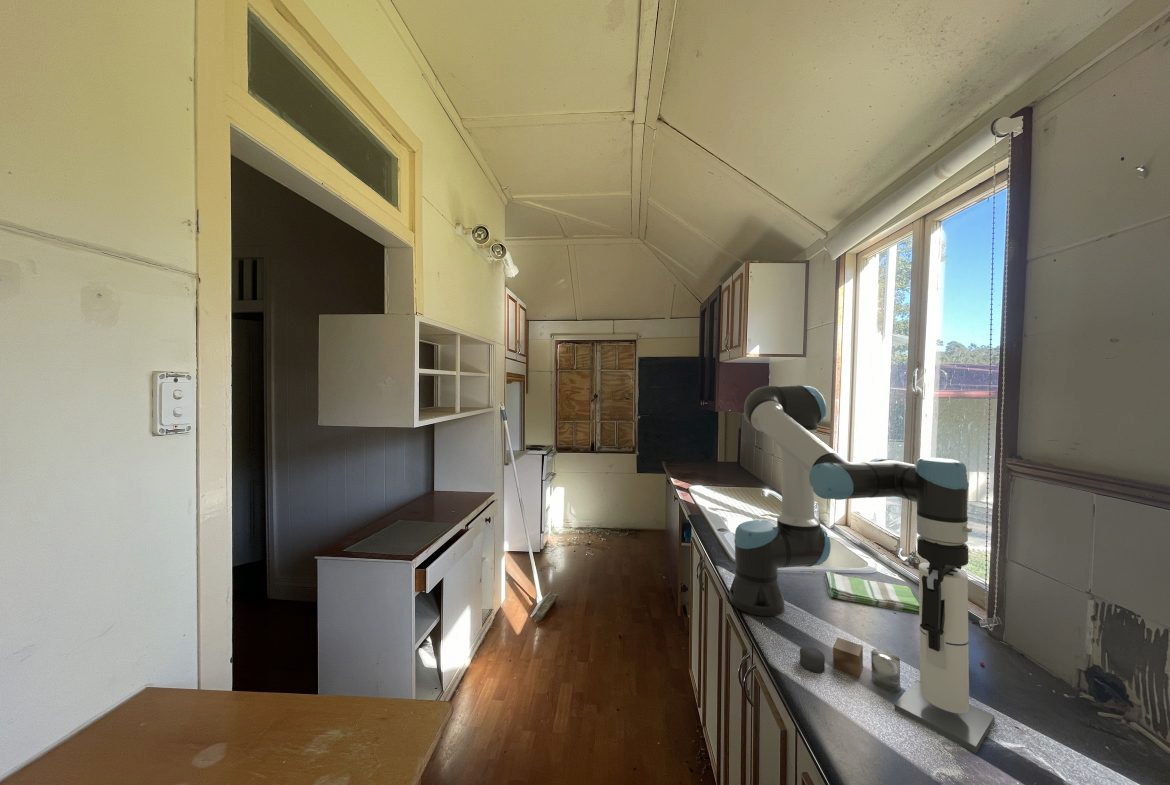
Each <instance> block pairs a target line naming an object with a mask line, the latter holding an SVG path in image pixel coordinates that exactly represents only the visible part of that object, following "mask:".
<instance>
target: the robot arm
mask: <svg viewBox="0 0 1170 785" xmlns="http://www.w3.org/2000/svg"><path fill="white" fill-rule="evenodd" d="M743 405H744V406H743V412H744V416H745V418H746V421H747V422H748V424H750V426H752V427H753V428H754V429H756V431H759V432H761V433H763V432H764V433H765V435H767V436H768V437H769V438H770V439H771V440H772V441H773V442H775V443H776V445H778V446H779V447H780V471H781V472H780V474H781V478H780V480H781V504H782V505H781V507H782V508H781V509H782V510H781V514H780V515H778V516H777V518H776V523H777V525H776V524H774V522H771V521H767V520H758V519H757V520H748V521H745V522H741V523H740V524H738V526H737V527H736V529H735V534H734V541H733V542H734V557H735V558H734V563H735V564H734V566H735V575H734V576H733V580H732V583H731V586H730V589H729V601H730V602H729V603H731V605H732V606H734V607H735V608H736V609H738V610H740V611H742V612H745V613H747V614H750V615H754V616H759V617H760V616H761V617H774V616H777V615H780V614H782V613H783V612H784V611H785V598H784V595H783V593H782V589H781V586H780V583H779V581H778V580H779V579H778V577H779V576H778V573H779V572H778V569H784V568H800V567H808V568H811V567H813V566H819V565H822V564H824V563H825V562H826V561H828V559H829V557H830V554H831V539H830V537H829V536H828V532H827V530H826V529H825V528H824V527H823V526H822V525H821V521H820V520H819V519H818V518H817V517H816V516H815V501H814V500H815V495H817V497H819V498H821V499H825V500H835V501H836V500H838V501H839V500H849V499H852V500H853V499H868V498H869V499H870V498H891V497H894V498H895V497H896V498H901V499H904V500H908V501H911V502H914V503H916V533H917V534H918V536H917V537H916V545H917V546H916V549H917V550H916V552H917V555H918V556H919V557H920V558H921V559H924V560H925V561H927V563H928V562H929V567H927V569H929V570H928V574H929V577H927V576H924V575H923V576H922V586H923V597H922V624H920V623H919V628H920V627H921V628H922V629H924V630H926V656H927V662H928V663H930V664H932V665H935V666H937V667H939V668H942V669H944V670H945V669H946V633H944V631H943V630H944V620H945V599H944V600H941V587H942V585H941V582H942V581H943V579H944V576H945V575H947V574H948V575H951V576H953V575H954V574H951V573H949V572H950V571H953V572H958V571H956V570H953V569H954V568H958V569H960V570H962V567H965V566H966V565H967V564H969V545H968V544H967V542H968V541H969V539H968V538H969V535H968V534H969V533H972V531H973V528H972V527H970V526H968V523H969V521H968V520H969V519H968V499H969V496H968V495H969V486H970V485H969V481H968V479H969V478H968V472H967V467H966V464H965V463H964V462H962V461H960V460H957V459H952V458H943V457H927V456H926V457H920V458H918V459H917V461H916V464H913V463H909V462H902V461H898V460H895V459H893V458H892V459H891V458H880V457H879V458H874V459H872V460H870V461H860V462H859V461H858V462H853V461H852V462H850V461H848V460H847V459H845V458H844V457H842V456H841V455H840V454H839V453H837V452H836V451H834V449H832V447H830V446H828V444H826V443H825V442H823V441H822V440H821V439H819V438H818V437H817V436H816V435H814V434H815V433H816V432H817V431H818V424H820V423H821V422H823V421H824V420H825V417H826V415H827V404H826V400H825V398H824V396H823V394H822V393H821V392H820V391H819V390H818V389H817V388H815V387H813V386H810V385H801V384H797V385H765V386H760V387H758V388H755V389H754V390H752V391H751V392H750V393H749V394H748V395H747V397H746V399H745V401H744V404H743ZM814 494H815V495H814Z"/></svg>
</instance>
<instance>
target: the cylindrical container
mask: <svg viewBox="0 0 1170 785" xmlns="http://www.w3.org/2000/svg"><path fill="white" fill-rule="evenodd" d="M927 567H929V562H928V561H927V562H921V563H919V564H918V597H919V598H918V600H919V601H918V602H919V614H918V615H919V625H920V624H922V597H923V586H922V576H923V575H924V576H927V577H929V574H928V570H929V569H927ZM953 570H956V571H958V572H953V571H950V572H949V573H951V574H954V575H953V576H951V575H948V574H947V575H945V576H944V579H943V581H942V582H941V585H942V587H941V600H944V599H945V620H944V630H943V631H944V633H946V669H945V670H944V669H942V668H939V667H937V666H935V665H932V664H930V663H928V662H927V656H926V630H924V629H922V628H921V627H920V626H919V675H920V676H919V681H920V692H921V694H922V696H923V697H924V698H925V699H926V700H927V701H928V702H930V703H931V704H933V705H935V706H936V707H938V708H941V709H943V710H946V711H949V712H953V713H966V712H968V711H969V704H970V675H969V674H970V672H969V671H970V669H969V668H970V665H969V664H970V663H969V657H970V656H969V655H970V654H969V649H970V648H969V590H968V588H969V582H968V581H969V580H968V579H969V577H968V573H967V572H966V571H964V570H962V569H961V570H960V569H958V568H954V569H953Z"/></svg>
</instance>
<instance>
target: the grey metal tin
mask: <svg viewBox="0 0 1170 785" xmlns="http://www.w3.org/2000/svg"><path fill="white" fill-rule="evenodd" d="M870 652H871V653H870V654H871V655H870V658H871V666H870V668H871V673H870V674H871V682H872V683H873V685H874V686H876V688H878V689H880V690H882V691H885V692H888V693H898V692H900V691H901V660H900V657H899V656H898V655H897V654H895V653H893V652H892V651H888V650H886V649H881V648H875V649H872V650H871V651H870Z"/></svg>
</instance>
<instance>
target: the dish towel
mask: <svg viewBox="0 0 1170 785" xmlns="http://www.w3.org/2000/svg"><path fill="white" fill-rule="evenodd" d="M824 573H825V574H824V579H825V582H826V586H827V591H828V592H827V593H828V595H829V598H831V599H832V598H833V599H837V600H838V599H839V600H842V601H847V602H852V603H858V604H863V605H867V606H868V605H869V606H874V607H880V608H885V609H889V610H894V611H899V612H906V613H912V614H917V615H919V601H918V599H917V598H916V597H915V595H914V594H913V592H912V589H911V588H910V587H909V586H907V585H899V584H893V583H887V582H882V581H875V580H868V579H863V578H858V577H852V576H851V577H850V576H844V575H841V574H837V573H834V572H832V571H825V572H824Z"/></svg>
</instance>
